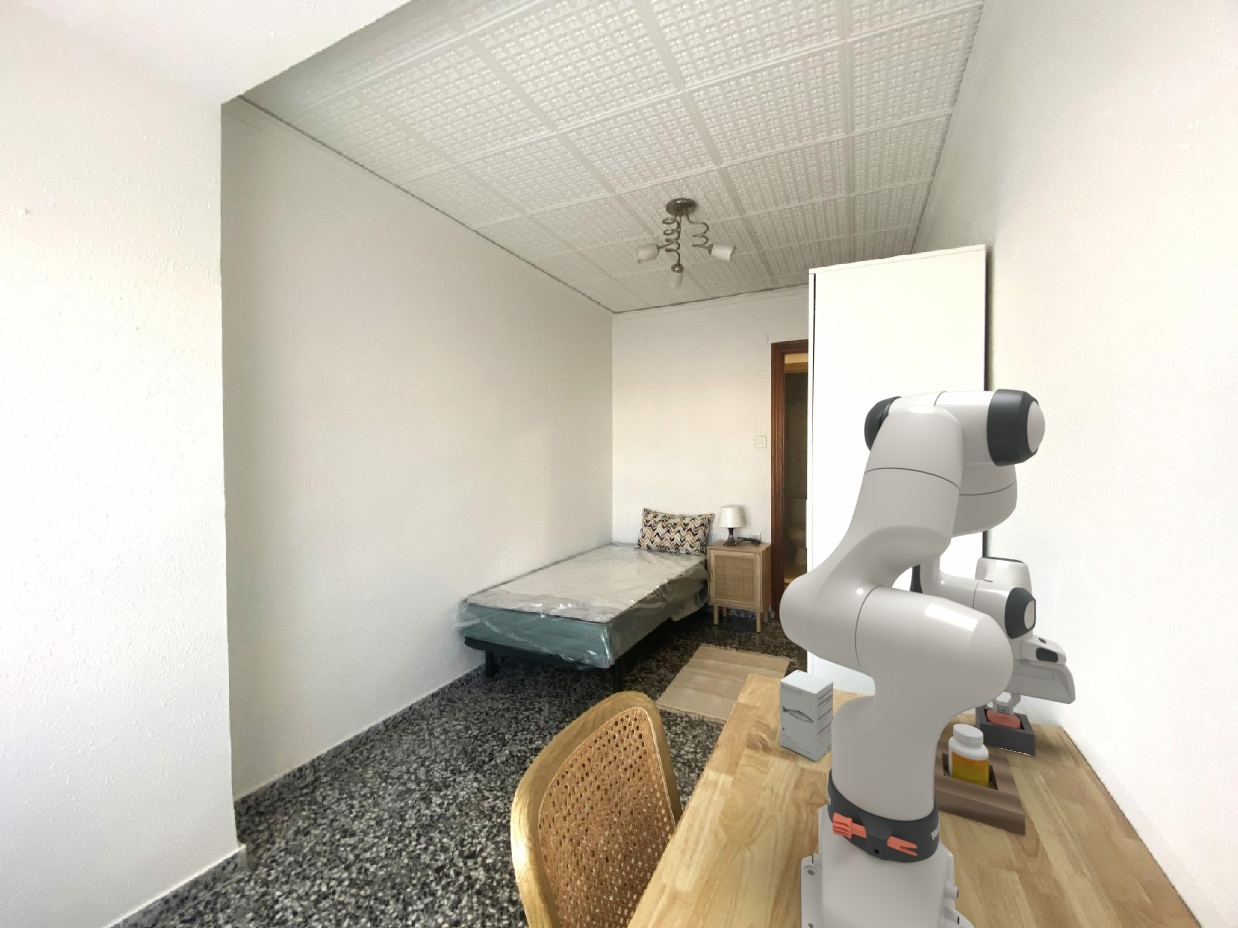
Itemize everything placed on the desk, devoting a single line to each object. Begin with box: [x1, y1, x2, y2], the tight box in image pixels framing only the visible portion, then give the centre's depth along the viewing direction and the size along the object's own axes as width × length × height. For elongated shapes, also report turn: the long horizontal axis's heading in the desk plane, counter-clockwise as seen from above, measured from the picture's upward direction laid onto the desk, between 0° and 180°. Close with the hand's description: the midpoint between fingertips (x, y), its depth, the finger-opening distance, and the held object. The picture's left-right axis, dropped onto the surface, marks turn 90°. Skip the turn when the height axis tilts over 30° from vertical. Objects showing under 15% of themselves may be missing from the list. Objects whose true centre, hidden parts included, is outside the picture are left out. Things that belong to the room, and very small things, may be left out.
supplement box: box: [779, 669, 834, 762], centre depth 91 cm, size 7×7×13 cm
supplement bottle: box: [947, 723, 990, 788], centre depth 79 cm, size 5×5×10 cm
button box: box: [974, 705, 1036, 758], centre depth 92 cm, size 8×8×4 cm
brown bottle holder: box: [934, 738, 1026, 837], centre depth 79 cm, size 16×12×3 cm
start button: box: [987, 709, 1020, 729], centre depth 92 cm, size 5×5×3 cm
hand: (1002, 712), depth 92 cm, fingers closed
